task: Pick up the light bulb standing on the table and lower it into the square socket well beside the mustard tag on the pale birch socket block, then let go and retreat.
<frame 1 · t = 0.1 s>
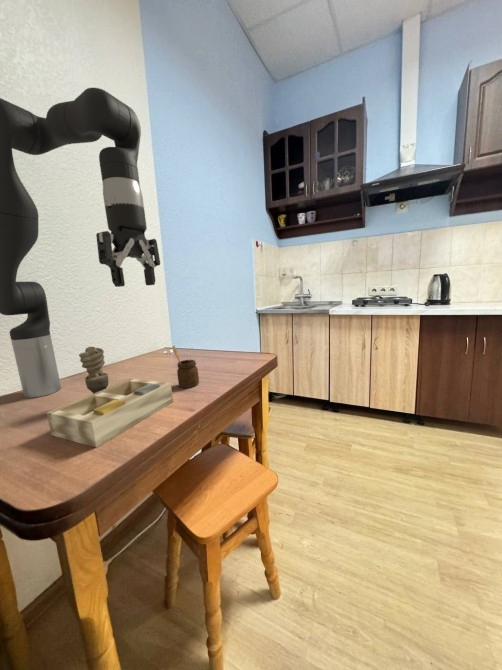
hand: (136, 285, 61), 29 cm above the table, fingers open, 8 cm apart
socket block: (118, 416, 64), on the table
light bulb: (100, 402, 74), on the table
utensil holder: (188, 385, 82), on the table
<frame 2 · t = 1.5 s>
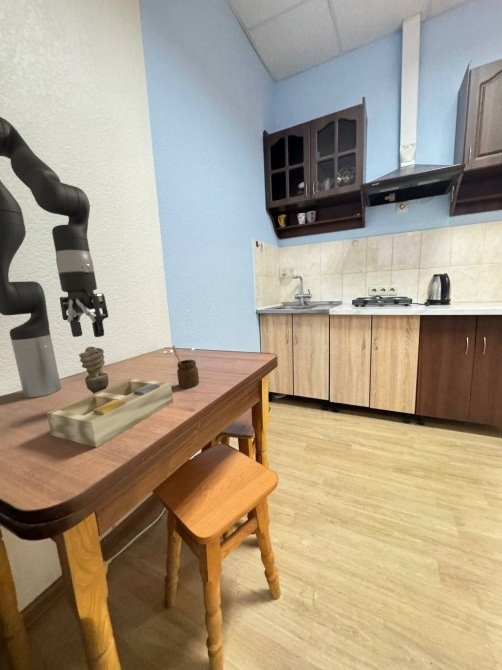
hand: (88, 336, 70), 18 cm above the table, fingers open, 8 cm apart
nothing on the table moved.
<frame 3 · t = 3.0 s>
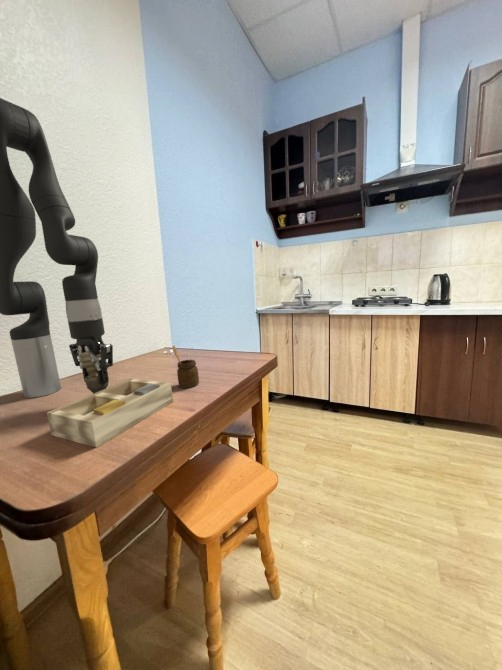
hand: (96, 382, 73), 5 cm above the table, fingers closed on light bulb, 5 cm apart
light bulb: (100, 402, 74), on the table, touching gripper
everything else where it was.
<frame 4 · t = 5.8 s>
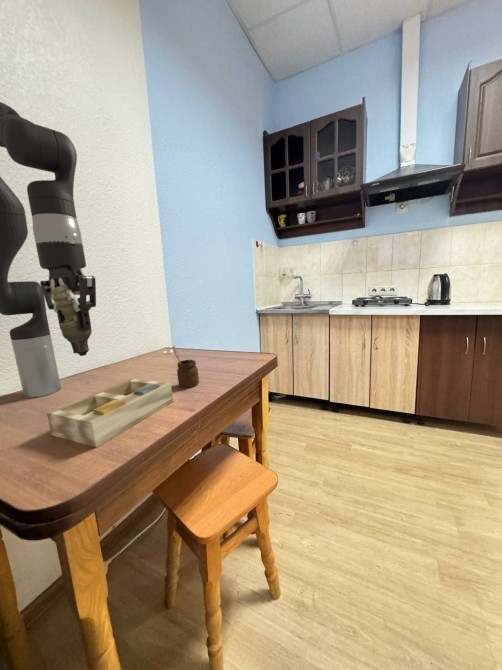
hand: (75, 329, 56), 21 cm above the table, fingers closed on light bulb, 5 cm apart
light bulb: (80, 356, 57), point 15 cm above the table, touching gripper
everything else where it was.
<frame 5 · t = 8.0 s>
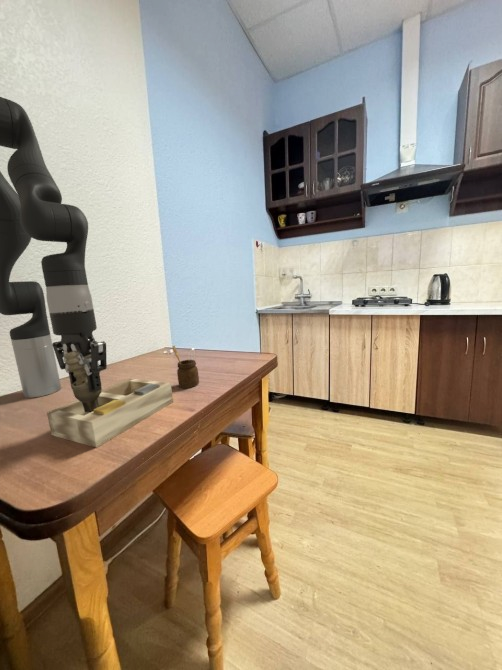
hand: (86, 389, 58), 8 cm above the table, fingers closed on light bulb, 5 cm apart
light bulb: (91, 414, 59), point 3 cm above the table, touching gripper
everything else where it was.
when the fingers open (8 cm above the table, at t = 8.6 s): light bulb drops 1 cm, resting on socket block.
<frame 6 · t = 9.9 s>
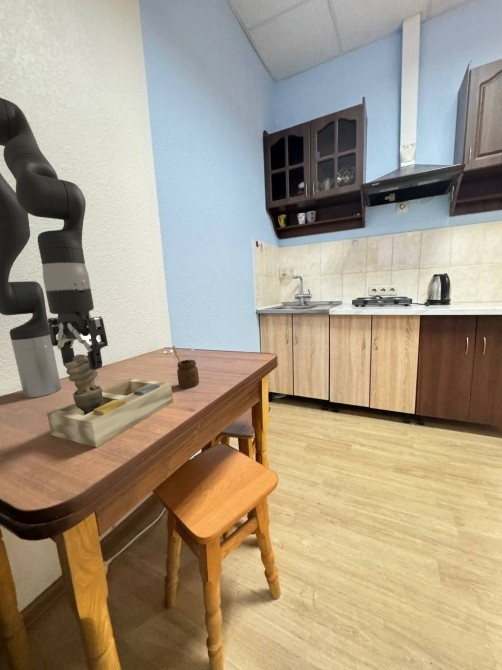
hand: (82, 367, 58), 13 cm above the table, fingers open, 8 cm apart
light bulb: (92, 422, 60), point 1 cm above the table, touching socket block
everything else where it was.
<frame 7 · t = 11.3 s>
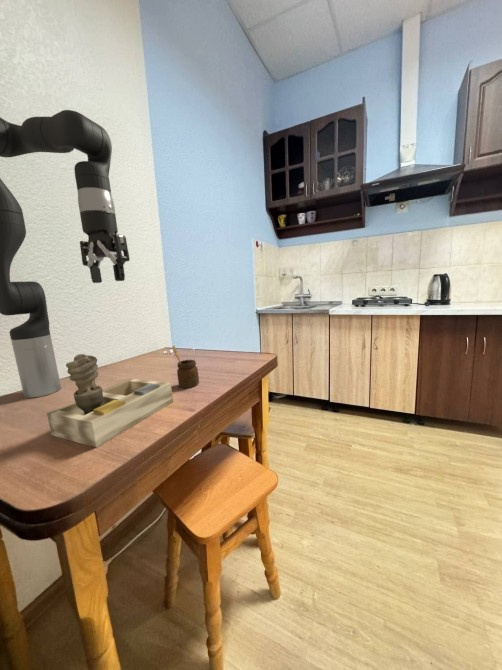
hand: (108, 281, 69), 31 cm above the table, fingers open, 8 cm apart
nothing on the table moved.
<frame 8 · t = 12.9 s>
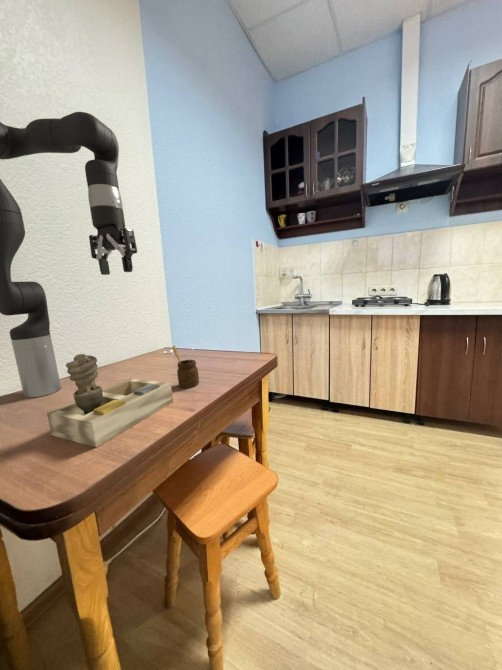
hand: (116, 273, 73), 33 cm above the table, fingers open, 8 cm apart
nothing on the table moved.
at the end: light bulb inside the target area on the socket block (0.1 cm from its centre), point 0.8 cm above the socket block's base; light bulb tilted 1°; the gripper is holding nothing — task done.
